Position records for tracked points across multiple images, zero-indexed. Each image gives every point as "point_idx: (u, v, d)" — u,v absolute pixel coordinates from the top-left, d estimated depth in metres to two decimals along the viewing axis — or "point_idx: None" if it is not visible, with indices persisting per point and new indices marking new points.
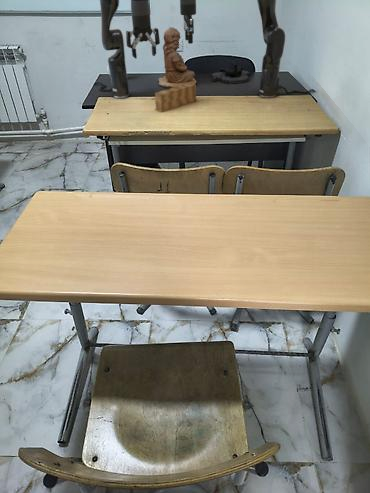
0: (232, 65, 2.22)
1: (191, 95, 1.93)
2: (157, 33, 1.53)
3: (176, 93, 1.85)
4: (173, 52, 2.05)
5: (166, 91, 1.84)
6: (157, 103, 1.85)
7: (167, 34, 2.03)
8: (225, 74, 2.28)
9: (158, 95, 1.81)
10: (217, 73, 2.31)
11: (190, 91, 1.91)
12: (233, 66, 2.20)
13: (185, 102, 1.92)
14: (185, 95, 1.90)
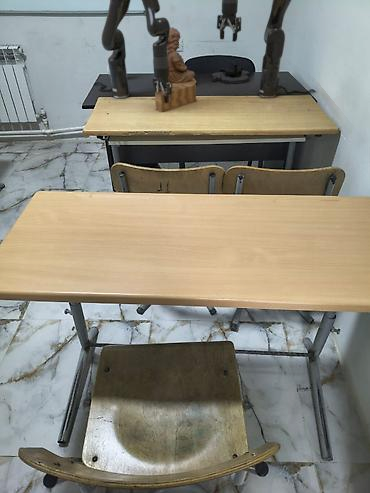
0: (232, 65, 2.22)
1: (191, 95, 1.93)
2: (167, 87, 1.76)
3: (176, 93, 1.85)
4: (173, 52, 2.05)
5: (166, 91, 1.84)
6: (157, 103, 1.85)
7: None
8: (225, 74, 2.28)
9: (158, 95, 1.81)
10: (217, 73, 2.31)
11: (190, 91, 1.91)
12: (233, 66, 2.20)
13: (185, 102, 1.92)
14: (185, 95, 1.90)
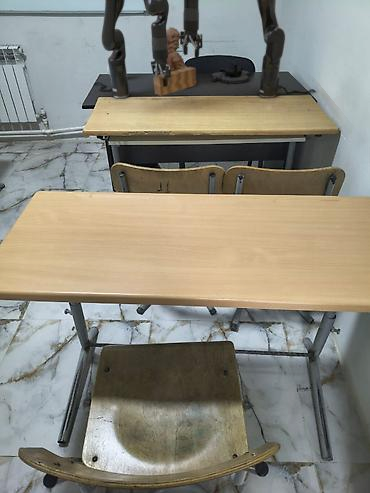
0: (232, 65, 2.22)
1: (191, 79, 1.88)
2: (166, 69, 1.71)
3: (175, 76, 1.80)
4: (173, 52, 2.05)
5: None
6: (156, 87, 1.80)
7: (167, 34, 2.03)
8: (225, 74, 2.28)
9: (157, 78, 1.76)
10: (217, 73, 2.31)
11: (190, 75, 1.86)
12: (233, 66, 2.20)
13: (184, 86, 1.87)
14: (184, 79, 1.85)
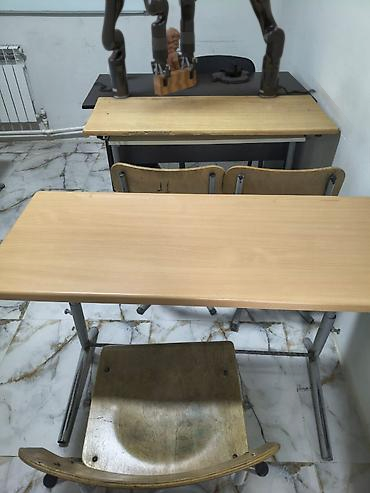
0: (232, 65, 2.22)
1: (191, 79, 1.88)
2: (166, 69, 1.71)
3: (175, 76, 1.80)
4: (173, 52, 2.05)
5: None
6: (156, 87, 1.79)
7: (167, 34, 2.03)
8: (225, 74, 2.28)
9: (157, 78, 1.76)
10: (217, 73, 2.31)
11: None
12: (233, 66, 2.20)
13: (185, 86, 1.87)
14: (184, 79, 1.85)
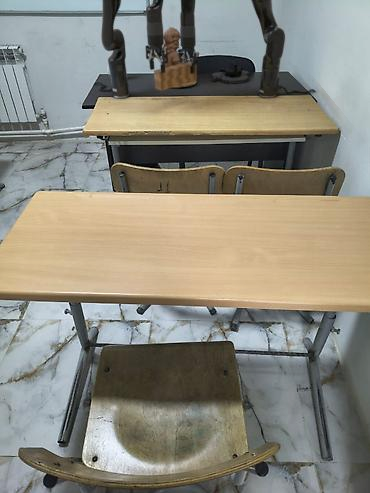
0: (232, 65, 2.22)
1: (191, 74, 1.86)
2: (162, 54, 1.65)
3: (175, 71, 1.78)
4: (173, 52, 2.05)
5: (166, 68, 1.77)
6: (156, 81, 1.78)
7: (167, 34, 2.03)
8: (225, 74, 2.28)
9: (157, 73, 1.74)
10: (217, 73, 2.31)
11: None
12: (233, 66, 2.20)
13: (185, 81, 1.85)
14: (185, 74, 1.83)
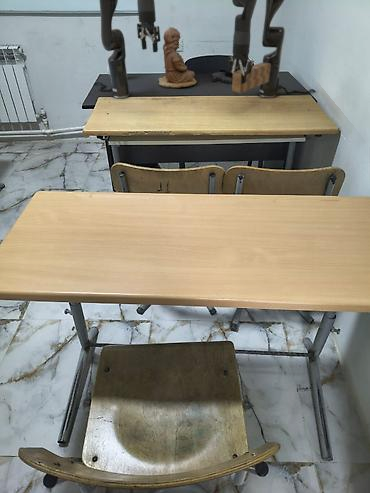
0: None
1: None
2: (154, 31, 1.57)
3: None
4: (173, 52, 2.05)
5: (260, 65, 1.76)
6: None
7: (167, 34, 2.03)
8: (225, 74, 2.28)
9: None
10: (217, 73, 2.31)
11: None
12: None
13: None
14: None
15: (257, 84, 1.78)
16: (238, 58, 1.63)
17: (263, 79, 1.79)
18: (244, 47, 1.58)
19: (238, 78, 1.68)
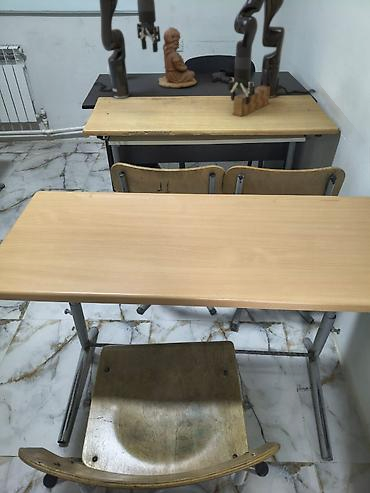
0: (232, 65, 2.22)
1: None
2: (154, 31, 1.57)
3: None
4: (173, 52, 2.05)
5: (260, 89, 1.83)
6: None
7: (167, 34, 2.03)
8: (225, 74, 2.28)
9: None
10: (217, 73, 2.31)
11: None
12: (233, 66, 2.20)
13: None
14: None
15: (257, 107, 1.84)
16: (239, 81, 1.69)
17: (263, 101, 1.86)
18: (245, 71, 1.63)
19: (239, 103, 1.74)
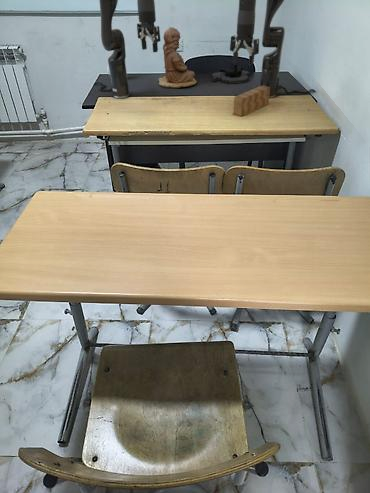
0: (232, 65, 2.22)
1: None
2: (154, 31, 1.57)
3: None
4: (173, 52, 2.05)
5: (260, 89, 1.83)
6: None
7: (167, 34, 2.03)
8: (225, 74, 2.28)
9: None
10: (217, 73, 2.31)
11: None
12: (233, 66, 2.20)
13: None
14: None
15: (257, 107, 1.84)
16: (242, 39, 1.58)
17: (263, 101, 1.86)
18: (249, 27, 1.52)
19: (239, 103, 1.74)
